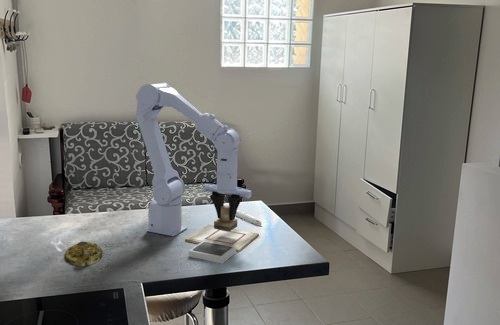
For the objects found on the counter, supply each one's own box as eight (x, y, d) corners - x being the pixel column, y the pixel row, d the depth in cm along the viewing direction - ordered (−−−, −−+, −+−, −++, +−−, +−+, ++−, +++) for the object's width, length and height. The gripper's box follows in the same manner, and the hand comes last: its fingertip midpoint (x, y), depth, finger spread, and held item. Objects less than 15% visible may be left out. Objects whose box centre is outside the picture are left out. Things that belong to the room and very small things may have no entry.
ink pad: (188, 256, 129) (188, 249, 129) (203, 246, 137) (203, 240, 136) (222, 263, 125) (222, 256, 125) (235, 252, 133) (235, 246, 132)
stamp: (213, 228, 140) (214, 207, 139) (221, 223, 145) (222, 203, 144) (229, 231, 138) (230, 210, 137) (237, 226, 143) (237, 206, 142)
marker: (264, 226, 155) (264, 219, 154) (258, 227, 154) (259, 220, 153) (231, 211, 169) (231, 205, 168) (226, 212, 168) (226, 206, 167)
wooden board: (185, 240, 140) (185, 238, 140) (208, 226, 152) (208, 223, 152) (238, 251, 133) (239, 249, 133) (258, 235, 146) (258, 233, 146)
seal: (63, 252, 133) (69, 273, 120) (60, 236, 132) (66, 255, 119) (98, 243, 137) (107, 263, 124) (95, 228, 136) (105, 246, 123)
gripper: (197, 172, 138) (197, 218, 140) (244, 178, 132) (243, 226, 135) (209, 167, 144) (209, 211, 147) (254, 173, 138) (253, 219, 141)
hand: (226, 218), depth 141 cm, fingers closed on stamp, 3 cm apart
